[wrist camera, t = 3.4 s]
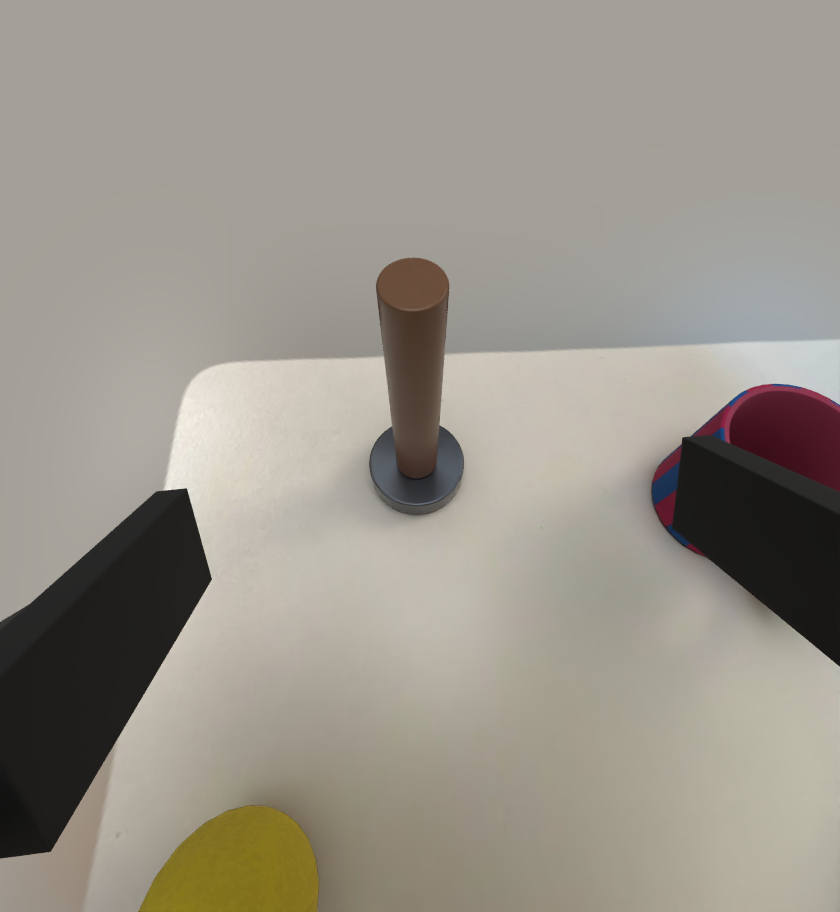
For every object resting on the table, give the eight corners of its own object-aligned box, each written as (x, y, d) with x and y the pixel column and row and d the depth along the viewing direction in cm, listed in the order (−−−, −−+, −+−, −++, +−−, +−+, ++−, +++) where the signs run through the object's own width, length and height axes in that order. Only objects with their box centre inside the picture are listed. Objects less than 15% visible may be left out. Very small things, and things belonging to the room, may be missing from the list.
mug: (749, 445, 28) (844, 379, 21) (819, 623, 23) (963, 605, 17) (637, 451, 27) (700, 386, 21) (688, 631, 23) (785, 616, 17)
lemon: (334, 948, 18) (277, 1130, 11) (192, 961, 18) (39, 1153, 11) (336, 780, 21) (289, 838, 13) (210, 790, 20) (94, 854, 13)
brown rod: (363, 508, 26) (305, 341, 13) (381, 427, 28) (345, 215, 15) (456, 521, 26) (492, 364, 13) (466, 438, 28) (505, 231, 15)
